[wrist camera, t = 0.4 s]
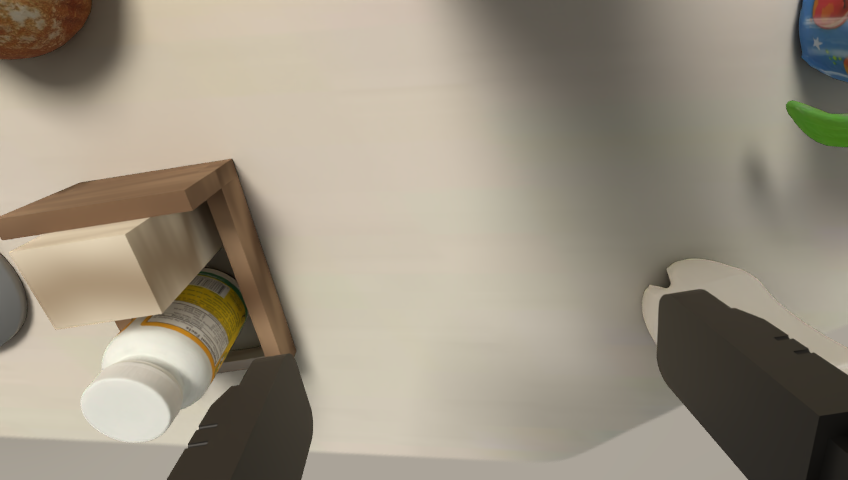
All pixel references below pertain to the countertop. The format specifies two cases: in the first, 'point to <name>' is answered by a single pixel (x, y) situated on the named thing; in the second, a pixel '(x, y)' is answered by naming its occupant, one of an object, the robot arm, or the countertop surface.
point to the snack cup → (823, 66)
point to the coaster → (11, 302)
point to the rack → (145, 250)
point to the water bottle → (740, 303)
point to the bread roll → (39, 25)
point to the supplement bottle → (165, 360)
